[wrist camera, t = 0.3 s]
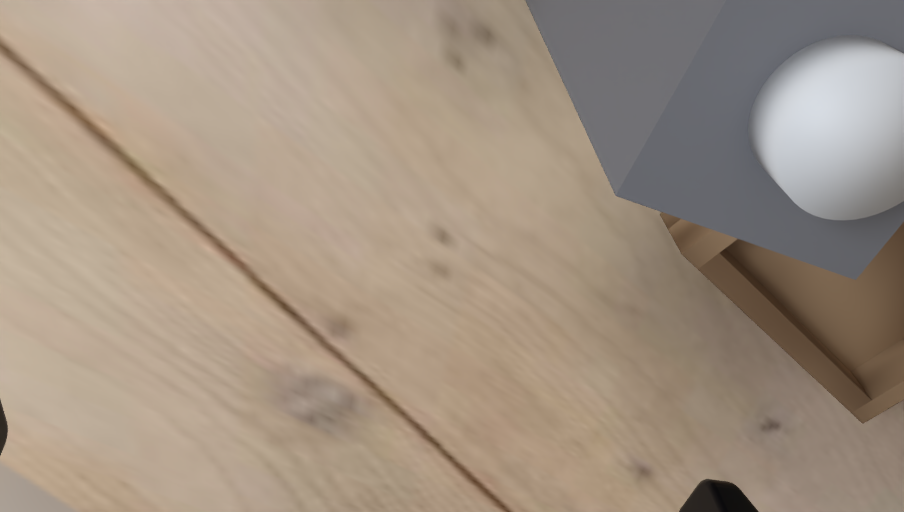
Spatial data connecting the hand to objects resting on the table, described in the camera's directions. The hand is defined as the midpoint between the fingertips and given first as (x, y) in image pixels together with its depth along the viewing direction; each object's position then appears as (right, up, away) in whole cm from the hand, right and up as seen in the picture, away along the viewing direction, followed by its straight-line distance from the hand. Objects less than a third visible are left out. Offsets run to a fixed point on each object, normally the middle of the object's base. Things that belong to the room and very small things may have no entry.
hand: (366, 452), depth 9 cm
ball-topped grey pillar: (+6, +11, +10) cm, 16 cm away
